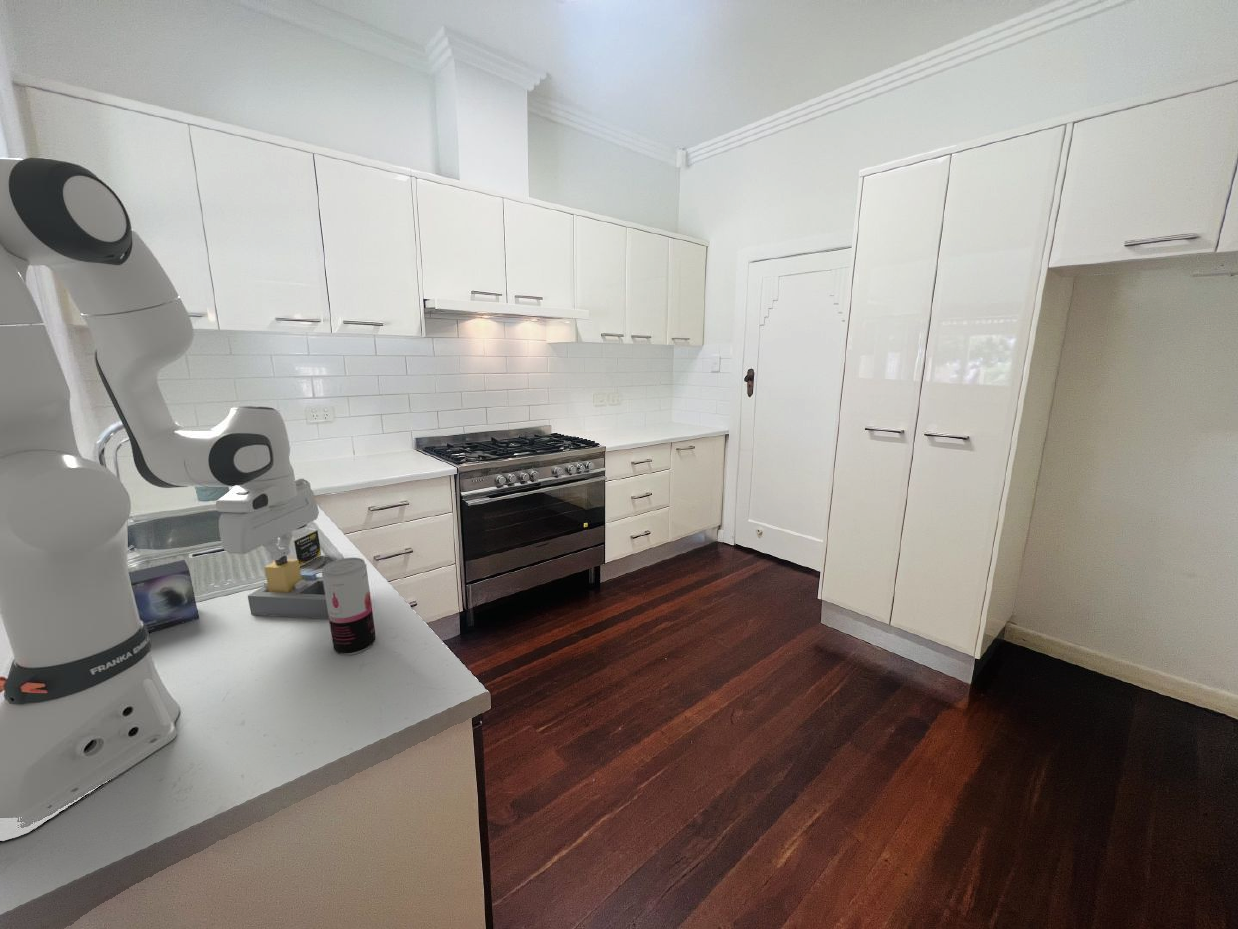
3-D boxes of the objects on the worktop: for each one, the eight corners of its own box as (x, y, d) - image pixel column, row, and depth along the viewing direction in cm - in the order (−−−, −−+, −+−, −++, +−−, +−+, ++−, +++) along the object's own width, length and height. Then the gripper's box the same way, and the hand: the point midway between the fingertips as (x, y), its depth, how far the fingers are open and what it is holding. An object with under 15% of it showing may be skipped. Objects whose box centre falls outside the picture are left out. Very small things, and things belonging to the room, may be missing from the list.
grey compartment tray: (328, 618, 95) (325, 595, 94) (251, 614, 97) (246, 591, 96) (357, 596, 104) (354, 573, 103) (286, 592, 106) (282, 570, 105)
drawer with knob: (290, 609, 99) (282, 562, 96) (272, 608, 99) (263, 561, 97) (305, 600, 103) (297, 553, 100) (287, 599, 103) (279, 553, 101)
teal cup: (200, 503, 167) (192, 468, 164) (191, 498, 173) (184, 464, 170) (236, 496, 175) (230, 463, 172) (226, 491, 181) (220, 459, 178)
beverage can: (384, 638, 89) (374, 560, 85) (353, 659, 83) (340, 576, 79) (357, 631, 91) (346, 554, 88) (325, 651, 85) (312, 570, 82)
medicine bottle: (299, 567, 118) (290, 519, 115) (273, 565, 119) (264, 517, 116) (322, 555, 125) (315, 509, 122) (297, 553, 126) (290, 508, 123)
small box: (124, 642, 88) (109, 587, 86) (122, 628, 93) (108, 576, 90) (200, 618, 96) (189, 568, 93) (195, 607, 100) (184, 558, 98)
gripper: (293, 475, 106) (303, 537, 109) (206, 505, 86) (221, 579, 89) (321, 476, 105) (330, 538, 108) (239, 506, 85) (254, 581, 89)
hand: (280, 557), depth 99 cm, fingers closed, pressing on drawer with knob
